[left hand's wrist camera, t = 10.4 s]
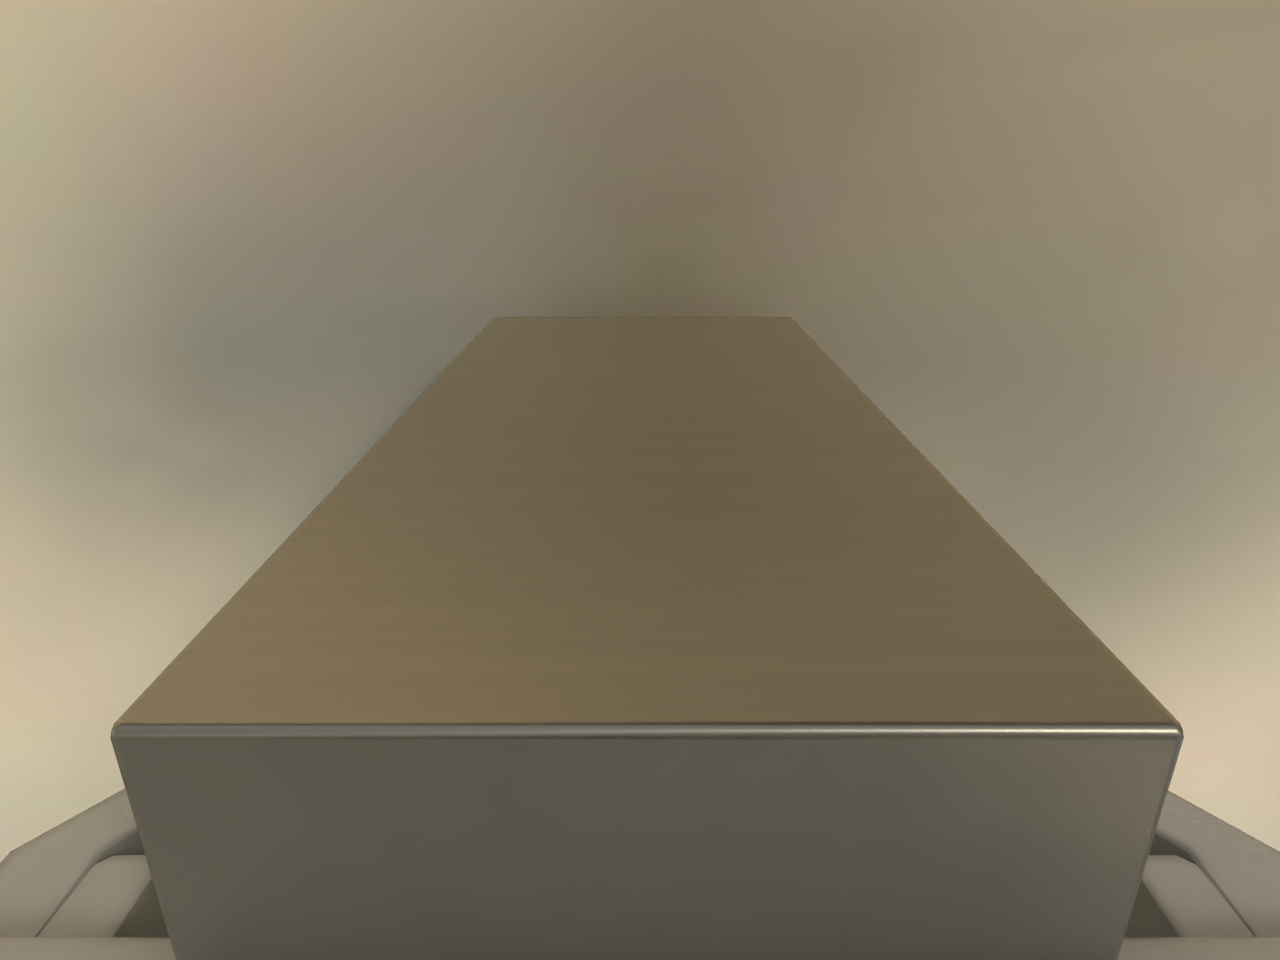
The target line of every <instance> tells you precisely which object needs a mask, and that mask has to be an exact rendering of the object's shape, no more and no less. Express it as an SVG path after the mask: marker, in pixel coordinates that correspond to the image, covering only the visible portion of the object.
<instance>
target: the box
mask: <svg viewBox="0 0 1280 960" xmlns="http://www.w3.org/2000/svg"><path fill="white" fill-rule="evenodd" d="M1183 738H1184V737H1183V730H1182V727H1181V725H1180V723H1179V722H1178V721H1177V720H1176V719H1175V718H1174V717H1173V716H1172V714H1171V713H1170V712H1169V711H1168V710H1167V709H1166V708H1165V707H1164V706H1163V705H1162V704H1161V703H1160V702H1159V701H1158V700H1157V699H1156V698H1155V697H1154V696H1153V695H1152V694H1151V693H1150V692H1149V690H1148V689H1147V688H1146V687H1145V686H1144V685H1143V684H1142V683H1141V682H1140V681H1139V680H1138V679H1137V678H1136V677H1135V676H1134V675H1133V674H1132V673H1131V672H1130V671H1129V670H1128V669H1127V668H1126V666H1125V665H1124V664H1123V663H1122V662H1121V661H1120V660H1119V659H1118V658H1117V657H1116V656H1115V655H1114V654H1113V653H1112V652H1111V651H1110V650H1109V649H1108V648H1107V647H1106V646H1105V645H1104V643H1103V642H1102V641H1101V640H1100V639H1099V638H1098V637H1097V636H1096V635H1095V634H1094V633H1093V632H1092V631H1091V630H1090V629H1089V628H1088V627H1087V626H1086V625H1085V624H1084V623H1083V622H1082V621H1081V619H1080V618H1079V617H1078V616H1077V615H1076V614H1075V613H1074V612H1073V611H1072V610H1071V609H1070V608H1069V607H1068V606H1067V605H1066V604H1065V603H1064V602H1063V601H1062V600H1061V599H1060V598H1059V597H1058V595H1057V594H1056V593H1055V592H1054V591H1053V590H1052V589H1051V588H1050V587H1049V586H1048V585H1047V584H1046V583H1045V582H1044V581H1043V580H1042V579H1041V578H1040V577H1039V576H1038V575H1037V574H1036V573H1035V571H1034V570H1033V569H1032V568H1031V567H1030V566H1029V565H1028V564H1027V563H1026V562H1025V561H1024V560H1023V559H1022V558H1021V557H1020V556H1019V555H1018V554H1017V553H1016V552H1015V551H1014V550H1013V549H1012V547H1011V546H1010V545H1009V544H1008V543H1007V542H1006V541H1005V540H1004V539H1003V538H1002V537H1001V536H1000V535H999V534H998V533H997V532H996V531H995V530H994V529H993V528H992V527H991V526H990V524H989V523H988V522H987V521H986V520H985V519H984V518H983V517H982V516H981V515H980V514H979V513H978V512H977V511H976V510H975V509H974V508H973V507H972V506H971V505H970V504H969V503H968V502H967V500H966V499H965V498H964V497H963V496H962V495H961V494H960V493H959V492H958V491H957V490H956V489H955V488H954V487H953V486H952V485H951V484H950V483H949V482H948V481H947V480H946V479H945V478H944V476H943V475H942V474H941V473H940V472H939V471H938V470H937V469H936V468H935V467H934V466H933V465H932V464H931V463H930V462H929V461H928V460H927V459H926V458H925V457H924V456H923V455H922V454H921V452H920V451H919V450H918V449H917V448H916V447H915V446H914V445H913V444H912V443H911V442H910V441H909V440H908V439H907V438H906V437H905V436H904V435H903V434H902V433H901V432H900V431H899V429H898V428H897V427H896V426H895V425H894V424H893V423H892V422H891V421H890V420H889V419H888V418H887V417H886V416H885V415H884V414H883V413H882V412H881V411H880V410H879V409H878V408H877V407H876V405H875V404H874V403H873V402H872V401H871V400H870V399H869V398H868V397H867V396H866V395H865V394H864V393H863V392H862V391H861V390H860V389H859V388H858V387H857V386H856V385H855V384H854V383H853V381H852V380H851V379H850V378H849V377H848V376H847V375H846V374H845V373H844V372H843V371H842V370H841V369H840V368H839V367H838V366H837V365H836V364H835V363H834V362H833V361H832V360H831V359H830V357H829V356H828V355H827V354H826V353H825V352H824V351H823V350H822V349H821V348H820V347H819V346H818V345H817V344H816V343H815V342H814V341H813V340H812V339H811V338H810V337H809V336H808V335H807V333H806V332H805V331H804V330H803V329H802V328H801V327H800V326H799V325H798V324H797V323H796V322H795V321H794V320H793V319H792V318H790V317H496V318H493V319H492V320H491V321H490V322H489V323H488V325H487V326H486V327H485V328H484V329H483V330H482V331H481V332H480V333H479V334H478V335H477V336H476V337H475V338H474V340H473V341H472V342H471V343H470V344H469V345H468V346H467V347H466V348H465V349H464V350H463V351H462V352H461V353H460V354H459V356H458V357H457V358H456V359H455V360H454V361H453V362H452V363H451V364H450V365H449V366H448V367H447V368H446V369H445V371H444V372H443V373H442V374H441V375H440V376H439V377H438V378H437V379H436V380H435V381H434V382H433V383H432V384H431V385H430V387H429V388H428V389H427V390H426V391H425V392H424V393H423V394H422V395H421V396H420V397H419V398H418V399H417V400H416V402H415V403H414V404H413V405H412V406H411V407H410V408H409V409H408V410H407V411H406V412H405V413H404V414H403V415H402V416H401V418H400V419H399V420H398V421H397V422H396V423H395V424H394V425H393V426H392V427H391V428H390V429H389V430H388V431H387V433H386V434H385V435H384V436H383V437H382V438H381V439H380V440H379V441H378V442H377V443H376V444H375V445H374V446H373V447H372V449H371V450H370V451H369V452H368V453H367V454H366V455H365V456H364V457H363V458H362V459H361V460H360V461H359V462H358V464H357V465H356V466H355V467H354V468H353V469H352V470H351V471H350V472H349V473H348V474H347V475H346V476H345V477H344V478H343V480H342V481H341V482H340V483H339V484H338V485H337V486H336V487H335V488H334V489H333V490H332V491H331V492H330V493H329V495H328V496H327V497H326V498H325V499H324V500H323V501H322V502H321V503H320V504H319V505H318V506H317V507H316V508H315V510H314V511H313V512H312V513H311V514H310V515H309V516H308V517H307V518H306V519H305V520H304V521H303V522H302V523H301V524H300V526H299V527H298V528H297V529H296V530H295V531H294V532H293V533H292V534H291V535H290V536H289V537H288V538H287V539H286V541H285V542H284V543H283V544H282V545H281V546H280V547H279V548H278V549H277V550H276V551H275V552H274V553H273V554H272V555H271V557H270V558H269V559H268V560H267V561H266V562H265V563H264V564H263V565H262V566H261V567H260V568H259V569H258V570H257V572H256V573H255V574H254V575H253V576H252V577H251V578H250V579H249V580H248V581H247V582H246V583H245V584H244V585H243V586H242V588H241V589H240V590H239V591H238V592H237V593H236V594H235V595H234V596H233V597H232V598H231V599H230V600H229V601H228V603H227V604H226V605H225V606H224V607H223V608H222V609H221V610H220V611H219V612H218V613H217V614H216V615H215V616H214V617H213V619H212V620H211V621H210V622H209V623H208V624H207V625H206V626H205V627H204V628H203V629H202V630H201V631H200V632H199V634H198V635H197V636H196V637H195V638H194V639H193V640H192V641H191V642H190V643H189V644H188V645H187V646H186V647H185V648H184V650H183V651H182V652H181V653H180V654H179V655H178V656H177V657H176V658H175V659H174V660H173V661H172V662H171V663H170V665H169V666H168V667H167V668H166V669H165V670H164V671H163V672H162V673H161V674H160V675H159V676H158V677H157V678H156V679H155V681H154V682H153V683H152V684H151V685H150V686H149V687H148V688H147V689H146V690H145V691H144V692H143V693H142V694H141V696H140V697H139V698H138V699H137V700H136V701H135V702H134V703H133V704H132V705H131V706H130V707H129V708H128V709H127V710H126V712H125V713H124V714H123V715H122V716H121V717H120V718H119V719H118V720H117V721H116V722H115V723H114V725H113V728H112V731H111V741H112V744H113V748H114V751H115V755H116V758H117V761H118V765H119V768H120V772H121V775H122V778H123V782H124V785H125V789H126V792H127V795H128V799H129V802H130V805H131V809H132V812H133V816H134V819H135V822H136V826H137V829H138V833H139V836H140V839H141V843H142V846H143V850H144V853H145V856H146V860H147V863H148V866H149V870H150V873H151V877H152V880H153V883H154V887H155V890H156V894H157V897H158V900H159V904H160V907H161V911H162V914H163V917H164V921H165V924H166V927H167V931H168V934H169V938H170V941H171V944H172V948H173V951H174V955H175V958H176V960H1117V958H1118V955H1119V951H1120V948H1121V945H1122V941H1123V938H1124V935H1125V931H1126V928H1127V925H1128V921H1129V918H1130V915H1131V911H1132V908H1133V905H1134V901H1135V898H1136V895H1137V891H1138V888H1139V885H1140V881H1141V878H1142V875H1143V871H1144V868H1145V865H1146V861H1147V858H1148V855H1149V851H1150V848H1151V845H1152V841H1153V838H1154V835H1155V831H1156V828H1157V825H1158V821H1159V818H1160V815H1161V811H1162V808H1163V805H1164V801H1165V798H1166V795H1167V791H1168V788H1169V785H1170V781H1171V778H1172V775H1173V771H1174V768H1175V765H1176V761H1177V758H1178V755H1179V751H1180V748H1181V745H1182V741H1183Z"/></svg>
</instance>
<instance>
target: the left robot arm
mask: <svg viewBox="0 0 1280 960" xmlns="http://www.w3.org/2000/svg"><path fill="white" fill-rule="evenodd" d="M0 960H176V958H175V955H174V951H173V948H172V944H171V941H170V938H169V934H168V931H167V927H166V924H165V921H164V917H163V914H162V911H161V907H160V904H159V900H158V897H157V894H156V890H155V887H154V883H153V880H152V877H151V873H150V870H149V866H148V863H147V860H146V856H145V853H144V850H143V846H142V843H141V839H140V836H139V833H138V829H137V826H136V822H135V819H134V816H133V812H132V809H131V805H130V802H129V799H128V795H127V792H126V789H123V790H121V791H119V792H118V793H116V794H114V795H112V796H110V797H109V798H107V799H105V800H103V801H101V802H100V803H98V804H96V805H94V806H92V807H91V808H89V809H87V810H85V811H83V812H82V813H80V814H78V815H76V816H74V817H72V818H71V819H69V820H67V821H65V822H63V823H62V824H60V825H58V826H56V827H54V828H53V829H51V830H49V831H47V832H45V833H44V834H42V835H40V836H38V837H36V838H35V839H33V840H31V841H29V842H27V843H25V844H24V845H22V846H20V847H18V848H16V849H15V850H13V851H11V852H10V853H9V854H8V855H7V856H6V857H5V859H4V860H3V861H2V862H1V863H0ZM1117 960H1280V852H1279V851H1277V850H1275V849H1274V848H1272V847H1270V846H1268V845H1266V844H1265V843H1263V842H1261V841H1259V840H1257V839H1255V838H1254V837H1252V836H1250V835H1248V834H1246V833H1245V832H1243V831H1241V830H1239V829H1237V828H1235V827H1234V826H1232V825H1230V824H1228V823H1226V822H1224V821H1223V820H1221V819H1219V818H1217V817H1215V816H1214V815H1212V814H1210V813H1208V812H1206V811H1204V810H1203V809H1201V808H1199V807H1197V806H1195V805H1194V804H1192V803H1190V802H1188V801H1186V800H1184V799H1183V798H1181V797H1179V796H1177V795H1175V794H1174V793H1172V792H1170V791H1167V795H1166V798H1165V801H1164V805H1163V808H1162V811H1161V815H1160V818H1159V821H1158V825H1157V828H1156V831H1155V835H1154V838H1153V841H1152V845H1151V848H1150V851H1149V855H1148V858H1147V861H1146V865H1145V868H1144V871H1143V875H1142V878H1141V881H1140V885H1139V888H1138V891H1137V895H1136V898H1135V901H1134V905H1133V908H1132V911H1131V915H1130V918H1129V921H1128V925H1127V928H1126V931H1125V935H1124V938H1123V941H1122V945H1121V948H1120V951H1119V955H1118V958H1117Z"/></svg>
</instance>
